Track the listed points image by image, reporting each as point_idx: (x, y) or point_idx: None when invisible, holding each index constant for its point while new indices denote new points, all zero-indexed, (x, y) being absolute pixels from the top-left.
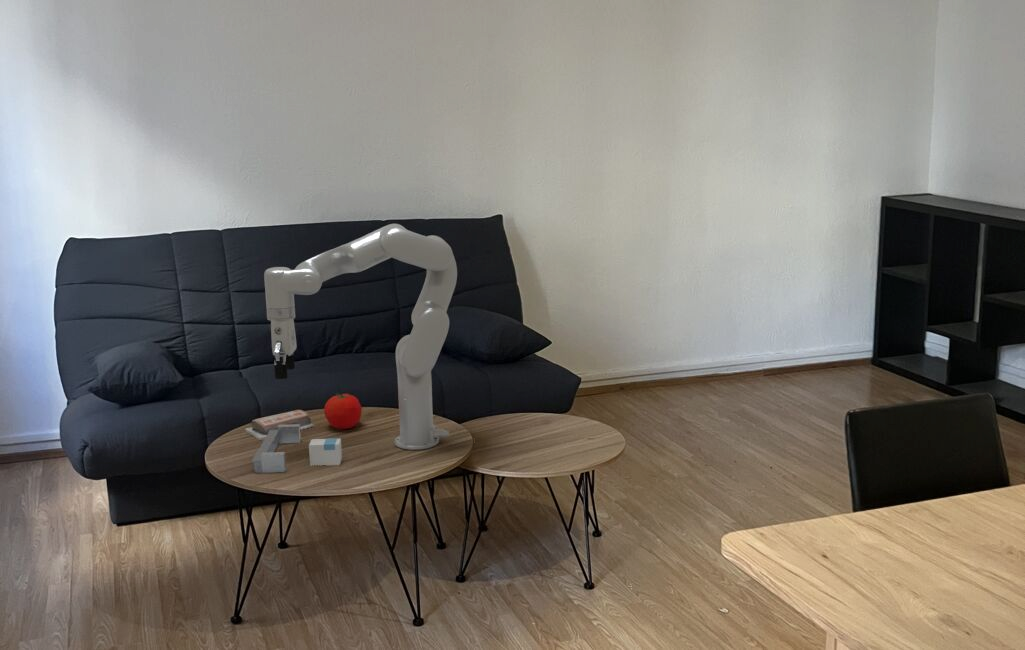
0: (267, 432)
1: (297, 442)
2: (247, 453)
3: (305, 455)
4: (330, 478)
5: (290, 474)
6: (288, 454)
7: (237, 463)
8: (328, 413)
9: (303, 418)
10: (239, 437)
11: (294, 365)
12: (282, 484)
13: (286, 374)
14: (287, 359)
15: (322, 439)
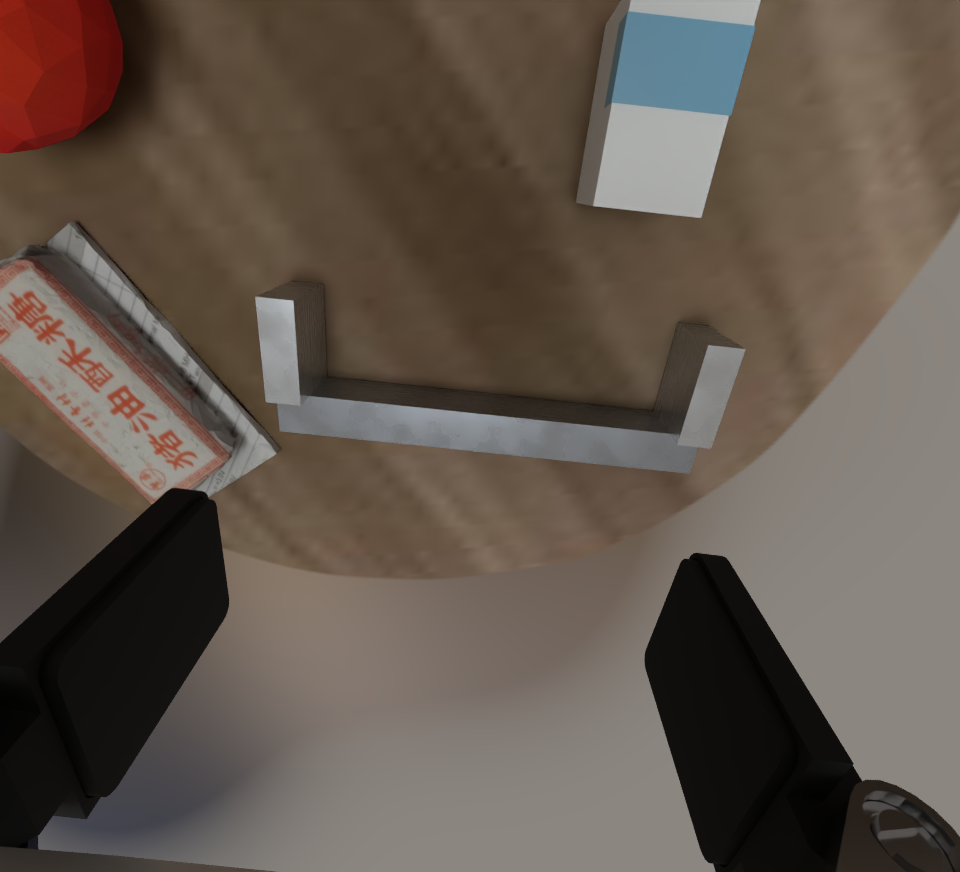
0: (230, 433)
1: (323, 295)
2: (437, 481)
3: (506, 245)
4: (895, 86)
5: (746, 300)
6: (477, 325)
7: (544, 504)
8: (61, 114)
9: (62, 283)
10: (248, 520)
11: (146, 510)
12: (858, 326)
13: (746, 599)
14: (130, 684)
15: (618, 130)
